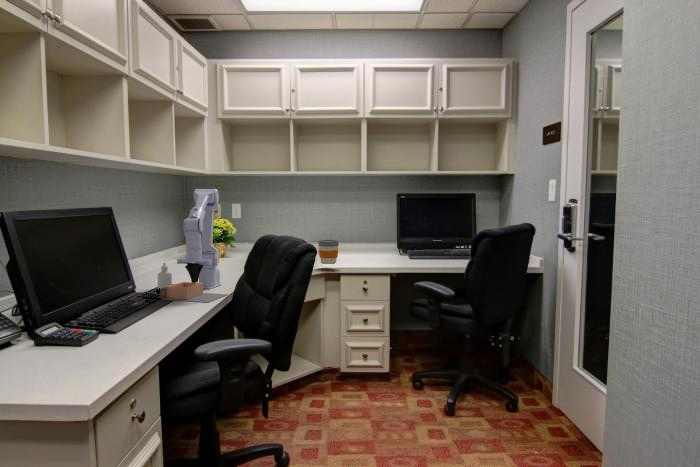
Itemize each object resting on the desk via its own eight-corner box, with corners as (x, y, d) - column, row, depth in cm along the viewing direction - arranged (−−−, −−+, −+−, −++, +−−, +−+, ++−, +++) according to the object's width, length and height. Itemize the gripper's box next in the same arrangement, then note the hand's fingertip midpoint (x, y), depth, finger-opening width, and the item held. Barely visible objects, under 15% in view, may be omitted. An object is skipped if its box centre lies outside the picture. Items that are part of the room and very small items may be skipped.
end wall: (181, 291, 171) (181, 282, 171) (185, 292, 171) (185, 282, 171) (160, 298, 159) (160, 288, 158) (164, 298, 158) (164, 288, 158)
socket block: (184, 292, 170) (183, 281, 169) (203, 293, 167) (202, 282, 167) (166, 298, 159) (166, 286, 159) (186, 299, 157) (186, 287, 157)
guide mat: (177, 291, 172) (177, 291, 172) (228, 294, 167) (228, 294, 167) (153, 299, 159) (153, 298, 159) (208, 302, 153) (208, 302, 153)
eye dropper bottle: (166, 289, 178) (165, 262, 177) (173, 290, 174) (172, 263, 173) (156, 290, 174) (155, 263, 173) (163, 292, 171) (162, 264, 170)
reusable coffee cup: (332, 263, 257) (332, 239, 256) (342, 265, 246) (342, 241, 245) (314, 264, 250) (314, 240, 249) (324, 267, 240) (324, 242, 239)
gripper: (171, 248, 159) (172, 283, 160) (204, 250, 155) (204, 285, 156) (183, 247, 166) (183, 279, 167) (214, 248, 162) (215, 281, 163)
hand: (194, 282), depth 162 cm, fingers closed
